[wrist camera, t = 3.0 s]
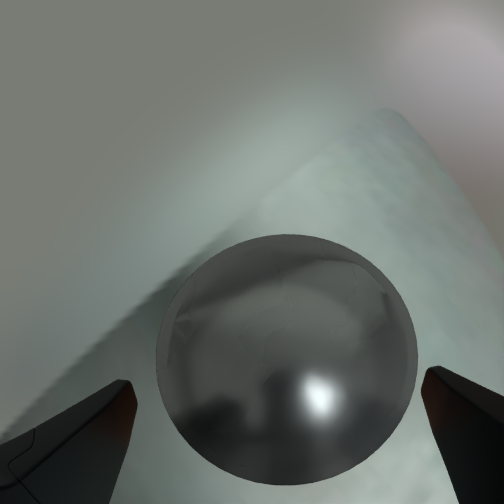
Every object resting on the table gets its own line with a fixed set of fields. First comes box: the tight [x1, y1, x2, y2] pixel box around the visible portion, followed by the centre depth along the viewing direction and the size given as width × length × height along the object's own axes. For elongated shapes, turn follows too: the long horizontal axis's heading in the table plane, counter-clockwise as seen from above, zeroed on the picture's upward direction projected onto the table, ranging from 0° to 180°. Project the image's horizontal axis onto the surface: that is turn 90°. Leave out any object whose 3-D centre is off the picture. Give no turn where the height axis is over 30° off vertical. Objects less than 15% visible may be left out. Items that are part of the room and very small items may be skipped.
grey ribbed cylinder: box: [156, 234, 418, 485], centre depth 8 cm, size 5×5×8 cm
